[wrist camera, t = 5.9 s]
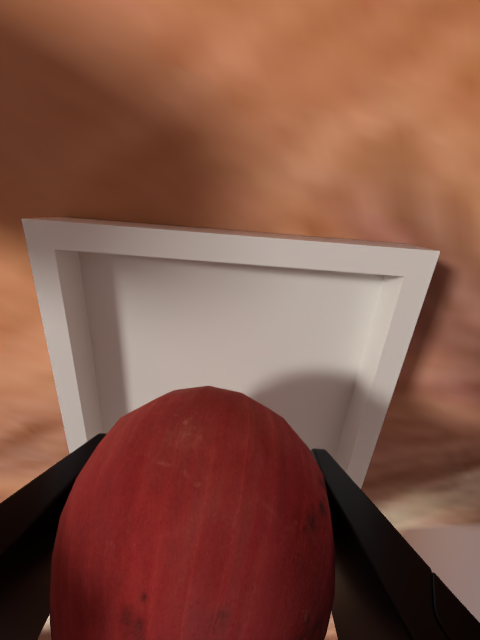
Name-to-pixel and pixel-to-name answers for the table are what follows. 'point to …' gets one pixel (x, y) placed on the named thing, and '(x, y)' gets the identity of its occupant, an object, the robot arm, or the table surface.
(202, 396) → the onion
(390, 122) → the table surface
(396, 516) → the table surface
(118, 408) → the dish
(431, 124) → the table surface
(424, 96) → the table surface
